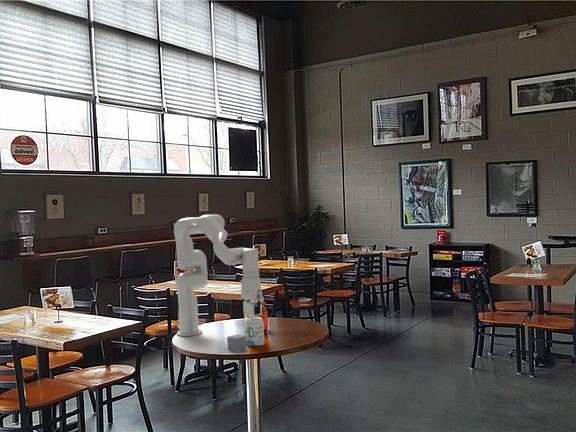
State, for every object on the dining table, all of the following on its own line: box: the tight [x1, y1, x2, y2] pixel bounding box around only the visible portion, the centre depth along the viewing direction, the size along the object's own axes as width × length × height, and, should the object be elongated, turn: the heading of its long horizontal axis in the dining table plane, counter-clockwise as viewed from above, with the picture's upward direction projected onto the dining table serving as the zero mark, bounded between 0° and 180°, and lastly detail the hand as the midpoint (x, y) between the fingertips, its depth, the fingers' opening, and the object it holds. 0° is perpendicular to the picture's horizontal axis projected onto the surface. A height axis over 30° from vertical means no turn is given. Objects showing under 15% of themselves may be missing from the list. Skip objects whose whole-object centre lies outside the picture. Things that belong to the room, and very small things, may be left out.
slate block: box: [226, 333, 248, 353], centre depth 258 cm, size 6×6×6 cm
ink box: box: [243, 317, 265, 347], centre depth 268 cm, size 8×8×12 cm
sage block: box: [242, 300, 263, 317], centre depth 268 cm, size 6×6×6 cm
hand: (252, 313), depth 268 cm, fingers closed on sage block, 6 cm apart
